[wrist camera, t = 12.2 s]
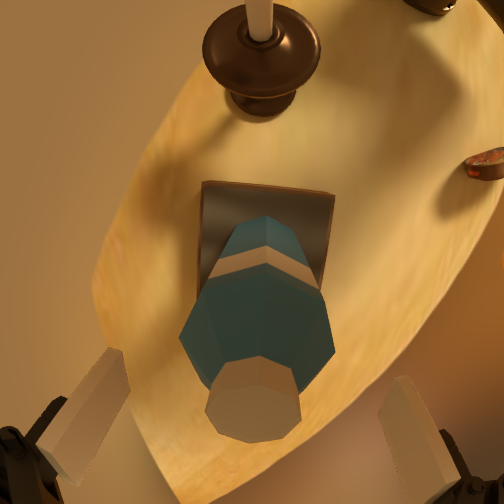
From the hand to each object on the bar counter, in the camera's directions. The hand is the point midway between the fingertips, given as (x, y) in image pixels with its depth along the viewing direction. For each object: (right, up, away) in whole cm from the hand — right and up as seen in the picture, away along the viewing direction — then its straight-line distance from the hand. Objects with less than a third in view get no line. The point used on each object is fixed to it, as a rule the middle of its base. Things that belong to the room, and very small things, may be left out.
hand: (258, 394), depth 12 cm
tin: (+40, +22, +23) cm, 51 cm away
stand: (+1, +8, +29) cm, 30 cm away
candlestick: (+1, +29, +23) cm, 37 cm away
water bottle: (+1, +6, +23) cm, 24 cm away
